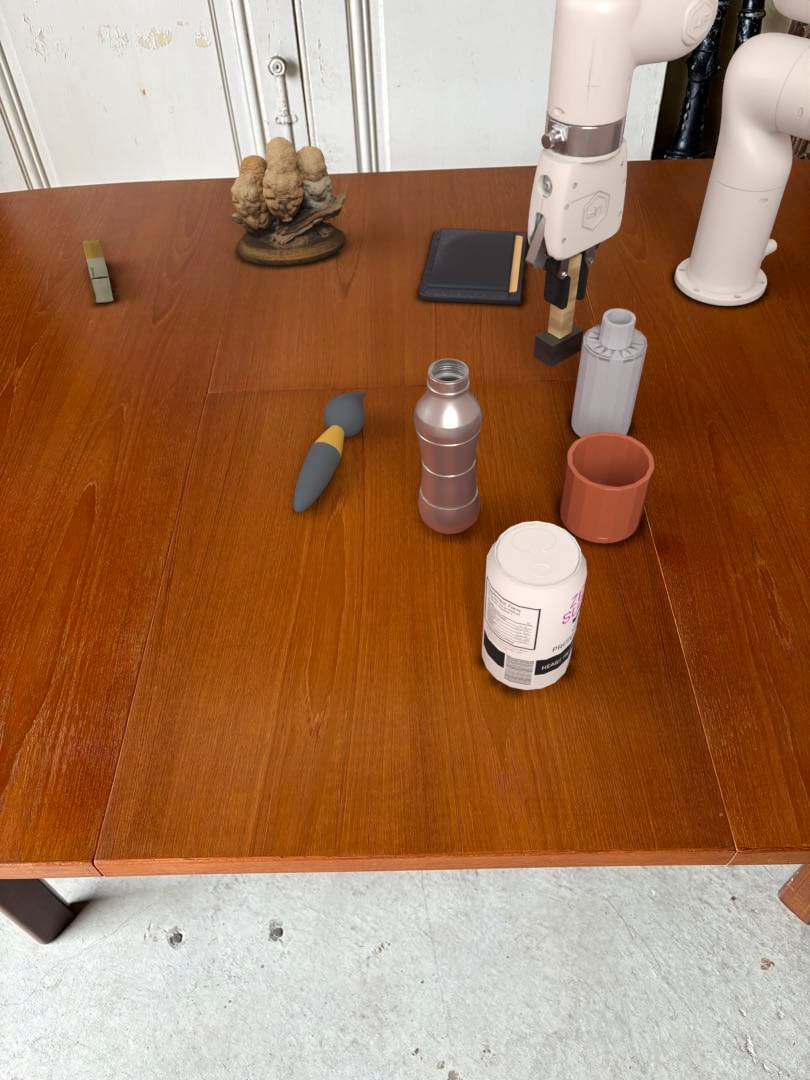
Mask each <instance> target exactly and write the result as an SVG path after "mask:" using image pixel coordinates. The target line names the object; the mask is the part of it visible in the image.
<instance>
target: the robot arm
mask: <svg viewBox="0 0 810 1080" xmlns="http://www.w3.org/2000/svg"><path fill="white" fill-rule="evenodd" d="M555 2H556V3H555V9H554V20H553V32H552V44H551V54H550V55H551V56H550V65H549V66H550V67H549V79H548V91H547V102H546V113H545V126H544V134H543V135H542V136H541V140H540V143H541V146H542V147H543V149H542V150H540V153H539V158H538V162H537V166H536V170H535V173H534V179H533V183H532V189H531V195H530V202H529V210H528V220H527V242H528V245H529V249H528V251H527V255H526V256H525V260H524V264H526V265H528V266H530V267H532V268H533V269H541V270H543V271H545V278H544V288H543V299H544V301H545V302H547V303H549V304H550V305H551V304H552V305H554V306H556V307H558V308H559V309H561V310H563V309H565V308H567V305H568V298H569V290H570V282H571V277H570V276H568V275H567V273H568V267H569V259H570V257H572V256H574V255H576V254H578V253H580V254H582V257H581V265H580V272H579V279H578V287H577V294H576V301H582V300H584V299H585V297H586V291H587V284H588V277H589V271H590V266H592V264H593V263H594V261H595V256H596V251H597V249H598V248H599V247H600V245H601V244H602V242H604V241H606V240H608V239H610V238H611V237H613V236H614V235H615V234H616V233H617V232H618V231H619V230H620V228H621V225H622V219H623V213H624V206H625V199H626V190H627V189H626V188H627V177H628V150H627V149H628V148H627V140H626V138H625V137H624V134H625V127H626V122H627V121H626V120H627V112H628V107H629V101H630V95H631V88H632V83H633V76H634V75H633V74H634V72H635V70H636V68H637V67H640V66H645V65H651V64H652V65H653V64H661V63H667V62H672V61H675V60H677V59H678V60H679V59H681V58H682V57H685V56H686V55H688V54H690V53H691V52H692V51H693V50H695V49H696V48H697V47H698V46H699V45H700V44H701V43H702V42H703V41H704V40H705V39H706V37H707V36H708V35H709V32H710V31H711V29H712V26H713V25H714V22H715V20H716V16H717V13H718V7H719V0H556V1H555ZM772 2H773V6H774V8H775V9H776V10H777V12H778V13H779V14H781V15H782V16H784V17H786V18H788V19H791V20H794V21H796V22H799V23H804V24H808V25H810V0H772ZM791 136H793V137H797V138H800V139H802V140H806V141H809V142H810V38H806V37H802V36H799V35H794V34H790V33H784V32H763V33H759V34H757V35H754V36H752V37H750V38H748V39H746V40H745V41H743V43H742V44H740V46H739V47H737V48H736V51H735V52H734V53H733V55H732V57H731V59H730V60H729V63H728V66H727V68H726V72H725V75H724V80H723V87H722V103H721V119H720V126H719V135H718V140H717V144H716V150H715V155H714V158H713V162H712V167H711V171H710V174H709V177H708V178H709V179H708V182H707V187H706V190H705V195H704V200H703V204H702V208H701V212H700V215H699V221H698V225H697V228H696V233H695V237H694V242H693V246H692V250H691V254H690V257H688V258H686V259H684V260H682V261H681V262H680V263H679V264H678V265H677V267H676V269H675V272H674V283H675V285H676V286H677V288H678V289H679V290H680V291H681V292H682V293H683V294H685V295H686V296H688V297H689V298H691V299H693V300H696V301H698V302H701V303H704V304H708V305H713V306H722V307H733V306H742V305H746V304H749V303H753V302H754V301H756V300H758V299H759V298H760V297H762V296H763V294H764V293H765V291H766V288H767V285H768V278H767V275H766V274H765V272H764V271H763V270H762V269H761V266H762V262H763V261H764V259H765V258H766V257H768V256H769V255H770V254H772V253H774V252H775V251H777V249H778V243H777V242H776V240H775V239H773V238H770V237H771V234H772V231H773V228H774V225H775V221H776V218H777V215H778V211H779V209H780V205H781V203H782V199H783V196H784V193H785V190H786V186H787V183H788V181H789V177H790V174H791V171H792V167H793V145H792V144H793V143H792V139H791ZM555 259H556V260H558V262H557V261H556V260H555Z"/></svg>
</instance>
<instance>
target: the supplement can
mask: <svg viewBox="0 0 810 1080" xmlns="http://www.w3.org/2000/svg"><path fill="white" fill-rule="evenodd" d="M485 562H486V564H485V581H484V599H483V600H484V601H483V620H482V641H481V658H482V660H483V663H484V666H485V668H486V670H487V671H488V672H489V673H490V674H491V675H492V677H494V678H495V680H497V681H499V682H500V683H503V684H504V685H506V686H508V687H509V688H514V689H519V690H522V691H523V690H524V691H529V690H530V691H531V690H541V689H544V688H546V687H548V686H551V685H553V684H555V683H556V682H557V681H558V680H560V679H561V677H562V676H563V675H565V673H566V671H567V668H568V666H569V664H570V661H571V657H572V651H573V646H574V641H575V636H576V631H577V626H578V620H579V617H580V611H581V606H582V601H583V596H584V592H585V587H586V581H587V576H588V568H587V566H588V565H587V559H586V558H585V556H584V554H583V552H582V549H581V547H580V545H579V542H578V541H577V539H576V538H575V537H574V536H573V535H572V534H571V533H570V532H568V531H567V529H565V528H563V527H560V526H558V525H556V524H553V523H551V522H545V521H539V520H534V521H523V522H520V523H518V524H517V523H516V524H515V525H512V526H510V527H509V528H507V529H505V531H503V533H501V534H500V535H499V537H498V538H497V540H496V541H495V542H493V544H492V545H491V547H490V549H489V551H488V553H487V555H486V561H485Z"/></svg>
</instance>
